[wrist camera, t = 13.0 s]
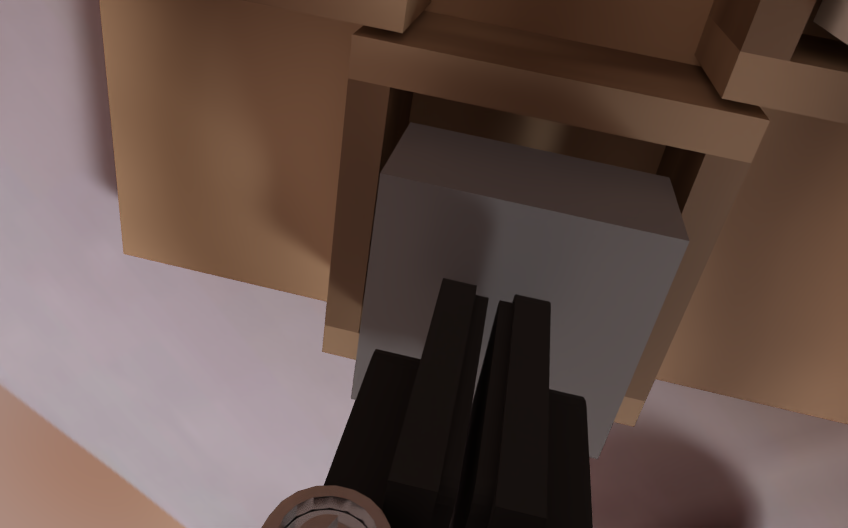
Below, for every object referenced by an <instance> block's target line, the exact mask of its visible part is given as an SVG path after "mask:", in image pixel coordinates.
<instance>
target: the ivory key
mask: <svg viewBox="0 0 848 528" xmlns="http://www.w3.org/2000/svg"><path fill="white" fill-rule="evenodd" d="M813 22H815V23H816V24H818V25H819V26H821V27H822V28H824V29H825V30H827V31H828V32H829V33H831V34H832V35H834V36H835V37H837V38H838V39H840V40H841V41H843V42H844V43H846V44H847V45H848V0H822V3H821V5H820V7H819V9H818V12H817V14H816V16H815V18H814V21H813Z"/></svg>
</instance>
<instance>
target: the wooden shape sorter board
mask: <svg viewBox="0 0 848 528" xmlns="http://www.w3.org/2000/svg"><path fill="white" fill-rule="evenodd" d="M821 3H822V0H99V4H100V15H101V25H102V35H103V45H104V56H105V66H106V76H107V87H108V97H109V107H110V118H111V128H112V138H113V149H114V159H115V169H116V180H117V190H118V200H119V211H120V221H121V231H122V241H123V252H124V254H127V255H131V256H135V257H139V258H144V259H148V260H152V261H156V262H161V263H165V264H169V265H173V266H178V267H182V268H186V269H190V270H195V271H199V272H203V273H207V274H212V275H216V276H220V277H224V278H229V279H233V280H237V281H241V282H246V283H250V284H254V285H258V286H263V287H267V288H271V289H275V290H279V291H284V292H288V293H292V294H296V295H301V296H305V297H309V298H313V299H318V300H322V301H326V302H327V306H326V317H325V327H324V338H323V348H322V352H325V353H329V354H334V355H338V356H342V357H346V358H350V359H354V360H356V356H357V348H358V341H359V333H360V325H361V318H362V310H363V302H364V295H365V287H366V279H367V272H368V264H369V256H370V248H371V241H372V233H373V225H374V218H375V210H376V202H377V195H378V187H379V179H380V173H381V171H382V169H383V168H384V166H385V164H386V163H387V161H388V159H389V158H390V156H391V154H392V152H393V151H394V149H395V147H396V146H397V144H398V142H399V141H400V139H401V137H402V136H403V134H404V132H405V130H406V129H407V127H408V125H409V124H410V122H412V123H417V124H422V125H426V126H431V127H436V128H441V129H445V130H450V131H455V132H459V133H464V134H469V135H473V136H478V137H483V138H487V139H492V140H497V141H501V142H506V143H511V144H515V145H520V146H525V147H529V148H534V149H539V150H543V151H548V152H553V153H557V154H562V155H567V156H571V157H576V158H581V159H585V160H590V161H595V162H599V163H604V164H609V165H614V166H618V167H623V168H628V169H632V170H637V171H642V172H646V173H651V174H656V175H660V176H665V177H670V180H671V184H672V187H673V190H674V193H675V196H676V200H677V203H678V206H679V209H680V212H681V216H682V219H683V222H684V225H685V228H686V231H687V235H688V238H689V244H688V246H687V248H686V251H685V253H684V256H683V258H682V260H681V263H680V265H679V267H678V270H677V272H676V275H675V277H674V279H673V282H672V284H671V287H670V289H669V291H668V294H667V296H666V298H665V301H664V303H663V306H662V308H661V310H660V313H659V315H658V317H657V320H656V322H655V325H654V327H653V329H652V332H651V334H650V337H649V339H648V341H647V344H646V346H645V348H644V351H643V353H642V356H641V358H640V360H639V363H638V365H637V367H636V370H635V372H634V375H633V377H632V379H631V382H630V384H629V387H628V389H627V391H626V394H625V396H624V398H623V401H622V403H621V406H620V408H619V410H618V413H617V415H616V417H615V420H614V422H616V423H620V424H624V425H628V426H632V427H634V426H635V423H636V421H637V419H638V417H639V414H640V412H641V410H642V408H643V405H644V403H645V401H646V399H647V396H648V394H649V392H650V390H651V387H652V385H653V383H654V381H655V379H657V380H662V381H666V382H670V383H674V384H679V385H683V386H687V387H691V388H696V389H700V390H704V391H708V392H713V393H717V394H721V395H725V396H730V397H734V398H738V399H742V400H747V401H751V402H755V403H759V404H764V405H768V406H772V407H776V408H781V409H785V410H789V411H793V412H798V413H802V414H806V415H810V416H815V417H819V418H823V419H827V420H832V421H836V422H840V423H844V424H848V45H847V44H846V43H844V42H843V41H841V40H840V39H838V38H837V37H835V36H834V35H832V34H831V33H829V32H828V31H827V30H825V29H824V28H822V27H821V26H819V25H818V24H816V23H815V22H813V21H814V18H815V16H816V14H817V12H818V9H819V7H820V5H821Z"/></svg>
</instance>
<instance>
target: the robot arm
mask: <svg viewBox="0 0 848 528" xmlns="http://www.w3.org/2000/svg"><path fill="white" fill-rule="evenodd" d="M476 289H477V285H473V284H468V283H464V282H459V281H455V280H451V279H446V278H443V280H442V283H441V287H440V290H439V294H438V298H437V301H436V305H435V309H434V312H433V316H432V320H431V323H430V327H429V331H428V334H427V338H426V342H425V345H424V349H423V353H422V356H421V359H418V358H413V357H409V356H405V355H400V354H396V353H392V352H388V351H383V350H379V349H375V351H374V353H373V355H372V357H371V360H370V363H369V365H368V368H367V371H366V373H365V376H364V379H363V381H362V384H361V387H360V389H359V392H358V395H357V398H356V400H355V403H354V406H353V408H352V411H351V414H350V416H349V419H348V422H347V424H346V427H345V430H344V432H343V435H342V438H341V441H340V443H339V446H338V449H337V451H336V454H335V457H334V459H333V462H332V465H331V467H330V470H329V473H328V476H327V478H326V481H325V484H324V486H314V487H311V488H307V489H304V490H301V491H298V492H296V493H294V494H293V495H291V496H289V497H288V498H286V499H285V500H283V501H282V502H281V503H280V504H279V505H278V506H277V507H276V508H275V510H274V511H273V512H272V513H271V514H270V515H269V517H268V518H267V520H266V521H265V523H264V525H263V526H262V528H593V525H592V505H591V484H590V463H589V443H588V422H587V406H586V400H585V398H584V397H582V396H578V395H573V394H569V393H565V392H560V391H556V390H552V389H549V376H550V325H551V303H550V302H549V301H545V300H540V299H536V298H531V297H527V296H522V295H518V294H515V295H514V298H513V301H512V303H511V302H506V301H502V300H500V301H499V303H498V307H497V311H496V314H495V318H494V322H493V326H492V330H491V334H490V337H489V341H488V345H487V349H486V353H485V357H484V360H483V364H482V368H481V372H480V376H479V380H478V383H477V387H476V391H475V395H474V389H475V382H476V376H477V370H478V364H479V357H480V351H481V345H482V338H483V332H484V326H485V319H486V313H487V307H488V300H489V298H488V297H484V296H479V295H476ZM473 395H474V399H473ZM472 401H473V403H472Z"/></svg>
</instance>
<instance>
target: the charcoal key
mask: <svg viewBox="0 0 848 528" xmlns="http://www.w3.org/2000/svg"><path fill="white" fill-rule="evenodd" d="M688 244H689V238H688V235H687V231H686V228H685V225H684V222H683V219H682V216H681V212H680V209H679V206H678V203H677V200H676V196H675V193H674V190H673V187H672V184H671V180H670V177H665V176H660V175H656V174H651V173H646V172H642V171H637V170H632V169H628V168H623V167H618V166H614V165H609V164H604V163H599V162H595V161H590V160H585V159H581V158H576V157H571V156H567V155H562V154H557V153H553V152H548V151H543V150H539V149H534V148H529V147H525V146H520V145H515V144H511V143H506V142H501V141H497V140H492V139H487V138H483V137H478V136H473V135H469V134H464V133H459V132H455V131H450V130H445V129H441V128H436V127H431V126H426V125H422V124H417V123H412V122H410V124H409V125H408V127H407V129H406V130H405V132H404V134H403V136H402V137H401V139H400V141H399V142H398V144H397V146H396V147H395V149H394V151H393V152H392V154H391V156H390V158H389V159H388V161H387V163H386V164H385V166H384V168H383V169H382V171H381V173H380V179H379V187H378V195H377V202H376V210H375V218H374V225H373V233H372V241H371V248H370V256H369V264H368V272H367V279H366V287H365V295H364V302H363V310H362V318H361V325H360V333H359V341H358V348H357V356H356V364H355V371H354V379H353V387H352V395H351V399H355V400H356V398H357V395H358V392H359V389H360V387H361V384H362V381H363V379H364V376H365V373H366V371H367V368H368V365H369V363H370V360H371V357H372V355H373V353H374V351H375V349H379V350H383V351H388V352H392V353H396V354H400V355H405V356H409V357H413V358H418V359H421V356H422V353H423V349H424V345H425V342H426V338H427V334H428V331H429V327H430V323H431V320H432V316H433V312H434V309H435V305H436V301H437V298H438V294H439V290H440V287H441V283H442V280H443V278H446V279H451V280H455V281H459V282H464V283H468V284H473V285H477V289H476V295H479V296H484V297H488V298H489V300H488V307H487V313H486V319H485V326H484V332H483V338H482V345H481V351H480V357H479V364H478V370H477V376H476V382H475V389H474V395H475V391H476V387H477V383H478V380H479V376H480V372H481V368H482V364H483V360H484V357H485V353H486V349H487V345H488V341H489V337H490V334H491V330H492V326H493V322H494V318H495V314H496V311H497V307H498V303H499V301H500V300H502V301H506V302H511V303H512V301H513V298H514V295H515V294H518V295H522V296H527V297H531V298H536V299H540V300H545V301H549V302H550V303H551V325H550V376H549V389H552V390H556V391H560V392H565V393H569V394H573V395H578V396H582V397H584V398H585V400H586V406H587V422H588V443H589V457H591V458H595V459H598V458H599V456H600V453H601V451H602V448H603V446H604V444H605V441H606V439H607V436H608V434H609V432H610V429H611V427H612V425H613V422H614V420H615V417H616V415H617V413H618V410H619V408H620V406H621V403H622V401H623V398H624V396H625V394H626V391H627V389H628V387H629V384H630V382H631V379H632V377H633V375H634V372H635V370H636V367H637V365H638V363H639V360H640V358H641V356H642V353H643V351H644V348H645V346H646V344H647V341H648V339H649V337H650V334H651V332H652V329H653V327H654V325H655V322H656V320H657V317H658V315H659V313H660V310H661V308H662V306H663V303H664V301H665V298H666V296H667V294H668V291H669V289H670V287H671V284H672V282H673V279H674V277H675V275H676V272H677V270H678V267H679V265H680V263H681V260H682V258H683V256H684V253H685V251H686V248H687V246H688ZM474 395H473V399H474ZM472 403H473V401H472Z"/></svg>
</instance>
